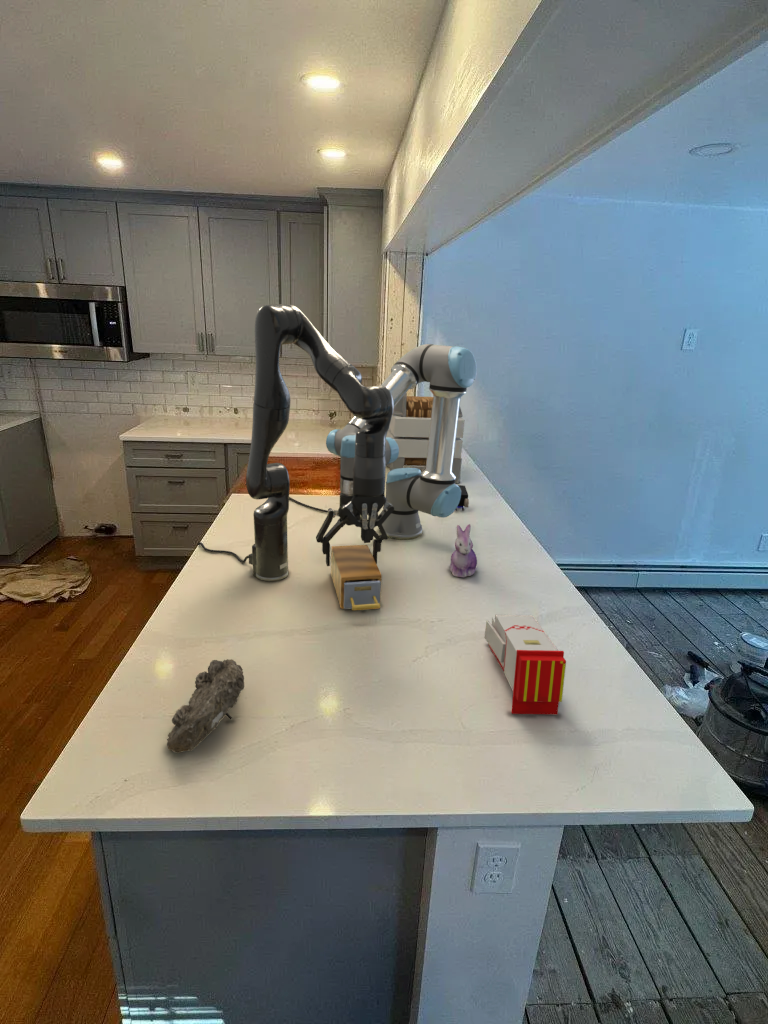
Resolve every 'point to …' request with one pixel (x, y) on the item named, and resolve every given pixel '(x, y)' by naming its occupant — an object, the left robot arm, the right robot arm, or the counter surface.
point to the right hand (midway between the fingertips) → (351, 563)
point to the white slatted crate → (418, 433)
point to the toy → (527, 663)
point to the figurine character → (463, 498)
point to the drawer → (362, 594)
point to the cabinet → (352, 567)
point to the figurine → (463, 554)
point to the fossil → (206, 705)
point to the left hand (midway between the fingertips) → (366, 541)
